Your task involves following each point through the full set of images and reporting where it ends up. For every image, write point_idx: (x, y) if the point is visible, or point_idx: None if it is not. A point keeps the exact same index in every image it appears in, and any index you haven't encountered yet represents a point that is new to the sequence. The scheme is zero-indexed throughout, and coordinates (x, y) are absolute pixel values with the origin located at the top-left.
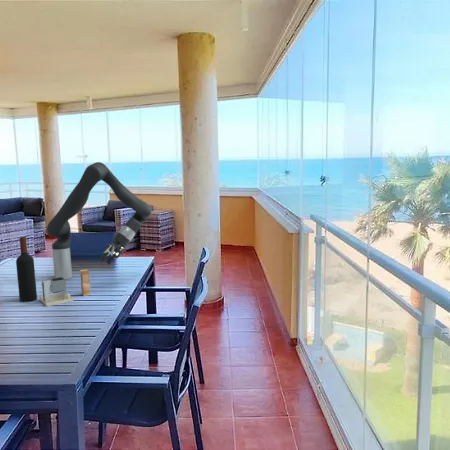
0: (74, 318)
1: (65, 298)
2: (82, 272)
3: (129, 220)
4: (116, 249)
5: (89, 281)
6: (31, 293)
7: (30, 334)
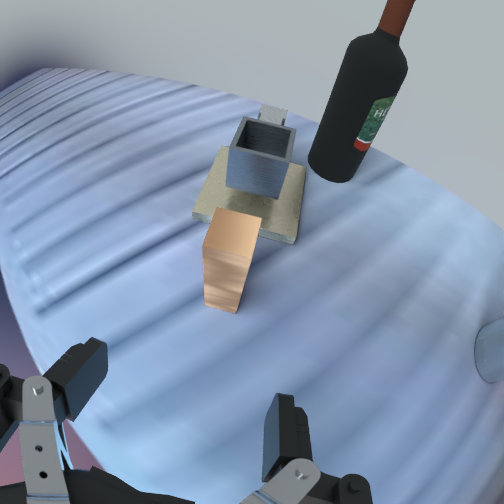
0: (70, 150)
1: (210, 192)
2: (216, 211)
3: None
4: (19, 485)
5: (204, 278)
6: (314, 142)
7: (100, 90)
